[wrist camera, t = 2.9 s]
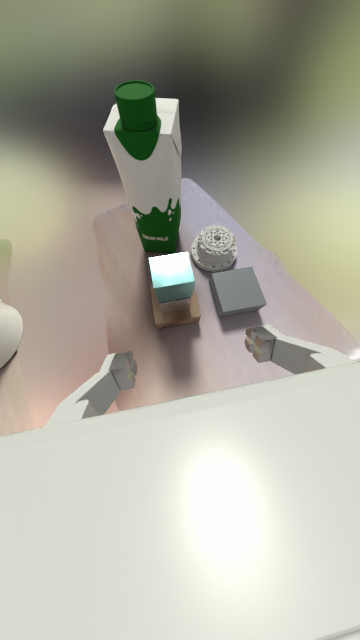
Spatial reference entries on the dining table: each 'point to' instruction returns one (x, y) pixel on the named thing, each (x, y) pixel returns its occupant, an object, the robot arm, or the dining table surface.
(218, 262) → the mechanical component
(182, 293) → the block
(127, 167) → the milk carton
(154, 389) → the dining table surface
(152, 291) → the walnut stand
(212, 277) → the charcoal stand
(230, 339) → the dining table surface
